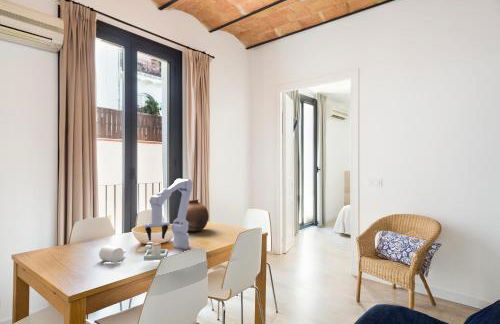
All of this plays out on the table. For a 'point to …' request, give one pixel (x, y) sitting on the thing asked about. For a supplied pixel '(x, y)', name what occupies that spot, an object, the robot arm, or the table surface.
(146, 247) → the clip board
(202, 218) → the pottery
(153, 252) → the white and orange block
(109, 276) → the table surface
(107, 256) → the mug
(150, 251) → the tray
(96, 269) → the table surface
